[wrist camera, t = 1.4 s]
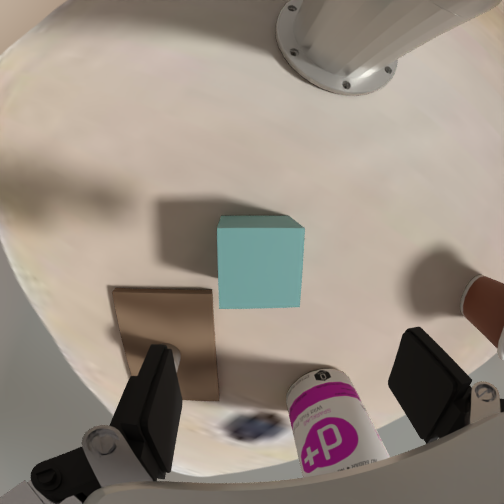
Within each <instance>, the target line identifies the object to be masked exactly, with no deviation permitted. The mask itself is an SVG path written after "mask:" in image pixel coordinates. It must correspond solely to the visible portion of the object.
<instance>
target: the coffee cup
mask: <svg viewBox="0 0 504 504" xmlns="http://www.w3.org/2000/svg"><path fill="white" fill-rule="evenodd" d="M460 311H461V313H462V315H463V316H464V317H466V318H467V319H468V320H469V321H470V322H471V323H472V324H473V325H474V326H475V327H476V328H477V329H478V330H479V331H480V332H481V333H482V334H483V335H484V336H485V337H486V338H487V339H488V340H489V341H490V342H491V343H492V344H493V345H494V346H495V347H496V348H497V353H498V356H499V358H500V359H501V360H504V284H503V283H501V282H498V281H496V280H493V279H491V278H488V277H486V276H483V275H477V276H476V277H474V278H473V279H472V280H471V281H470V282H469V284H468V285H467V286H466V288H465V291H464V293H463V295H462V299H461V303H460Z"/></svg>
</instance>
